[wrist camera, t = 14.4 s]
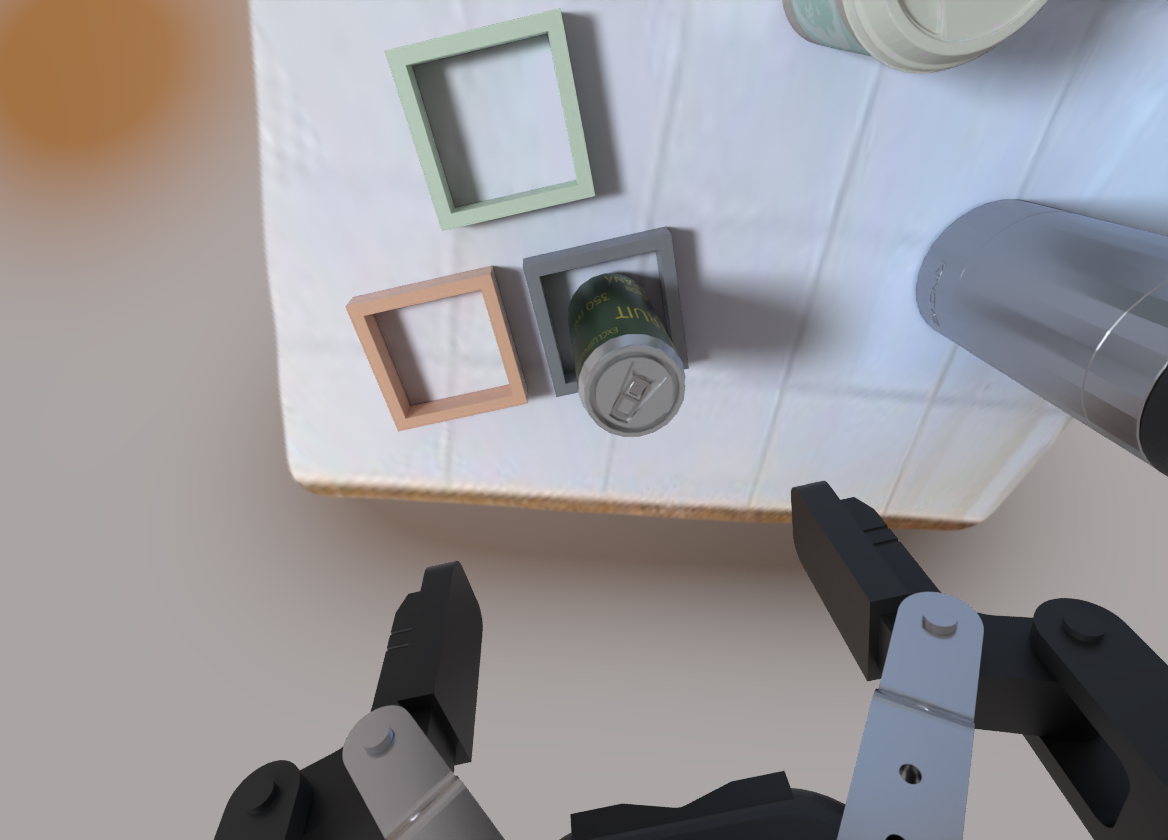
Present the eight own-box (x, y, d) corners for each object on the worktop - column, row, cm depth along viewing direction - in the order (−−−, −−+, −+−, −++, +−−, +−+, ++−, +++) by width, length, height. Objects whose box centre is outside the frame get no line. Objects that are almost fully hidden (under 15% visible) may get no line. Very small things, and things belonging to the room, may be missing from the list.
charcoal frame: (665, 226, 37) (671, 233, 35) (682, 357, 41) (688, 368, 40) (523, 258, 37) (522, 266, 36) (555, 385, 42) (556, 397, 40)
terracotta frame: (492, 265, 37) (490, 274, 36) (527, 391, 42) (527, 403, 40) (353, 297, 38) (345, 306, 36) (403, 418, 42) (398, 431, 41)
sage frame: (559, 11, 31) (560, 8, 30) (592, 190, 36) (595, 196, 34) (391, 52, 32) (384, 50, 30) (445, 224, 36) (442, 231, 34)
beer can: (622, 360, 41) (652, 455, 31) (553, 327, 40) (559, 415, 29) (664, 293, 39) (711, 370, 29) (592, 254, 38) (614, 322, 27)
